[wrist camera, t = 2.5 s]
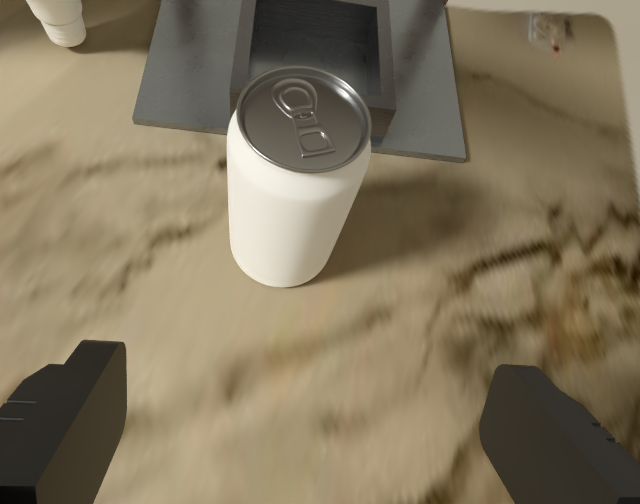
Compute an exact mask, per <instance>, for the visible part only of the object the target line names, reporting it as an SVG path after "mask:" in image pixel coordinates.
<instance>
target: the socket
mask: <svg viewBox="0 0 640 504" xmlns="http://www.w3.org/2000/svg"><path fill="white" fill-rule="evenodd" d="M289 65H302V66H310V67H315V68H319V69H322V70H325V71H328V72H330V73H332V74H335V75H336V76H338V77H340V78H342V79H343V80H345V81H346V82H347V83H349V84H350V85H351V86H352V87H353V88H354V89H355V90H356V91H357V92H358V93H359V94H360V96H361V97H362V98H363V100H364V102H365V103H366V105H367V107H368V110H369V113H370V117H371V135H370V142H371V152H376V153H384V154H392V155H401V156H409V157H418V158H426V159H434V160H443V161H451V162H460V163H463V162H464V161H465V159H466V152H465V145H464V138H463V131H462V124H461V118H460V111H459V104H458V97H457V90H456V83H455V76H454V70H453V63H452V56H451V49H450V42H449V35H448V28H447V22H446V15H445V8H444V1H443V0H162V1H161V5H160V9H159V13H158V17H157V21H156V25H155V29H154V33H153V37H152V41H151V45H150V49H149V53H148V57H147V61H146V65H145V69H144V73H143V77H142V81H141V85H140V89H139V93H138V97H137V101H136V105H135V109H134V113H133V117H132V118H133V122H134V124H140V125H149V126H157V127H165V128H174V129H182V130H191V131H199V132H207V133H216V134H224V135H227V133H228V127H229V123H230V120H231V118H232V116H233V114H234V112H235V110H236V109H237V103H238V99H239V97H240V94H241V93H242V91H243V89H244V88H245V86H246V85H247V84H248V83H249V82H250V81H251V80H252V79H254V78H255V77H256V76H258V75H259V74H261V73H263V72H265V71H267V70H270V69H273V68H277V67H281V66H289Z"/></svg>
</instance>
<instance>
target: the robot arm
mask: <svg viewBox="0 0 640 504" xmlns="http://www.w3.org/2000/svg"><path fill="white" fill-rule="evenodd" d="M126 412H127V373H126V347H125V344H124V342H115V341H97V340H83V341H81V342H80V344H79V345H78V346H77V348H76V349H75V350H74V352H73V353H72V354H71V356H70V357H69V358H68V360H67V361H66V362H65V364H64V365H62V364H48V365H47V366H45V367H44V368H42V369H40V370H39V371H37V372H36V373H34V374H32V375H31V376H29V377H28V378H26V379H24V380H23V381H22V383H21V384H20V385H19V386H18V387H17V389H16V390H15V391H14V392H13V393H12V395H11V396H10V397H9V398H8V399H7V403H6V404H5V403H4V404H3V405H2V406H1V408H0V504H93V502H94V500H95V498H96V495H97V493H98V491H99V488H100V486H101V484H102V481H103V479H104V477H105V474H106V472H107V470H108V467H109V465H110V463H111V460H112V458H113V456H114V453H115V451H116V448H117V446H118V444H119V441H120V439H121V436H122V433H123V429H124V425H125V420H126ZM479 432H480V440H481V444H482V447H483V449H484V451H485V453H486V455H487V456H488V458H489V460H490V461H491V463H492V465H493V467H494V468H495V470H496V472H497V473H498V475H499V477H500V479H501V480H502V482H503V484H504V485H505V487H506V489H507V491H508V492H509V494H510V496H511V497H512V499H513V501H514V503H515V504H640V464H639V463H638V462H637V461H636V460H635V459H634V458H633V456H632V455H631V454H630V453H629V452H628V451H627V450H626V449H625V448H624V447H623V446H622V445H621V444H620V443H616V442H615V438H614V437H613V436H612V435H611V434H610V433H609V432H608V431H607V430H606V429H605V428H604V427H601V426H600V423H599V422H598V421H597V420H596V419H595V418H594V416H593V415H592V414H591V413H590V412H589V411H588V410H587V409H586V408H585V407H584V406H583V405H581V404H580V403H578V402H577V401H575V400H574V399H572V398H571V397H569V396H568V395H566V394H565V393H563V392H562V391H560V390H559V389H558V388H557V387H556V386H555V385H554V384H553V383H552V382H551V380H550V379H549V378H548V377H547V376H546V375H545V374H544V373H543V372H542V371H541V370H540V369H539V368H537V367H536V366H526V365H508V364H502V365H499V366H498V367H497V369H496V370H495V372H494V375H493V379H492V382H491V386H490V389H489V392H488V396H487V399H486V402H485V406H484V409H483V413H482V416H481V420H480V426H479Z"/></svg>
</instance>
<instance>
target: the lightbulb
mask: <svg viewBox="0 0 640 504" xmlns="http://www.w3.org/2000/svg"><path fill="white" fill-rule="evenodd" d="M26 1H27V3H28V4H29V6H30V8H31V10H32V12H33V14H34V15H35V16H36V17H37V18H38V19H39V20H40V21H41V23H42V25H43V27H44V29H45V30H46V33H47V35H48V36H49V38H50V40H51V41H52V42H54V43H55V44H57V45H59V46H63V47H73V46H76V45H79V44H80V43H82V42H83V41H84V39H85V37H86V29H85V24H84V22H83V18H82V15H81V13H82V3H81V0H26Z"/></svg>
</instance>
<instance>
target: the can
mask: <svg viewBox="0 0 640 504" xmlns="http://www.w3.org/2000/svg"><path fill="white" fill-rule="evenodd" d="M370 135H371V117H370V113H369V110H368V107H367V105H366V103H365V102H364V100H363V98H362V97H361V96H360V94H359V93H358V92H357V91H356V90H355V89H354V88H353V87H352V86H351V85H350V84H349V83H347V82H346V81H345V80H343V79H342V78H340V77H338V76H336V75H335V74H332V73H330V72H328V71H325V70H322V69H319V68H315V67H310V66H302V65H289V66H281V67H277V68H273V69H270V70H267V71H265V72H263V73H261V74H259V75H258V76H256V77H255V78H254V79H252V80H251V81H250V82H249V83H248V84H247V85H246V86H245V88H244V89H243V91H242V93H241V94H240V97H239V99H238V103H237V109H236V110H235V112H234V114H233V116H232V118H231V120H230V123H229V127H228V133H227V176H228V206H229V231H230V245H231V250H232V253H233V256H234V258H235V260H236V262H237V264H238V265H239V267H240V268H241V269H242V270H243V271H244V272H245V273H246V274H247V275H248V276H250V277H251V278H252V279H254V280H256V281H258V282H260V283H262V284H265V285H268V286H273V287H293V286H297V285H300V284H303V283H305V282H307V281H309V280H311V279H312V278H314V277H315V276H316V275H317V274H318V273H319V272H320V271H321V270H322V269H323V267H324V266H325V264H326V263H327V261H328V259H329V257H330V255H331V252H332V250H333V248H334V246H335V243H336V241H337V239H338V237H339V234H340V232H341V230H342V227H343V225H344V223H345V221H346V218H347V216H348V214H349V211H350V209H351V207H352V204H353V202H354V200H355V197H356V195H357V193H358V190H359V188H360V186H361V183H362V181H363V178H364V176H365V173H366V171H367V168H368V165H369V161H370V156H371V142H370Z"/></svg>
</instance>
